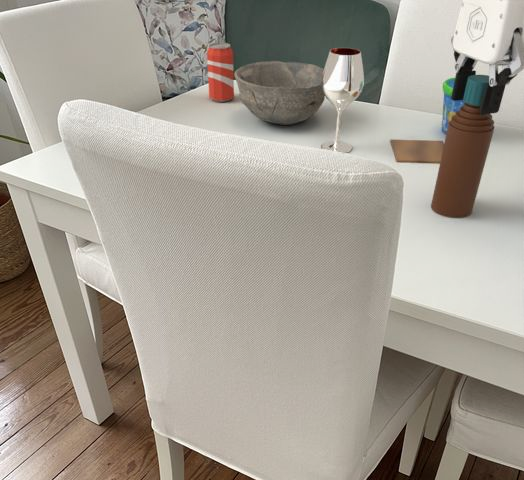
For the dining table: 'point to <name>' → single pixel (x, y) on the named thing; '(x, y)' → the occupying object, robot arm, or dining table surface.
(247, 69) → the bowl
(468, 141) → the bottle
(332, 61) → the wineglass
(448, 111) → the snack cup
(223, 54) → the beverage can
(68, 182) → the dining table surface
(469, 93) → the cap
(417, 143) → the coaster
